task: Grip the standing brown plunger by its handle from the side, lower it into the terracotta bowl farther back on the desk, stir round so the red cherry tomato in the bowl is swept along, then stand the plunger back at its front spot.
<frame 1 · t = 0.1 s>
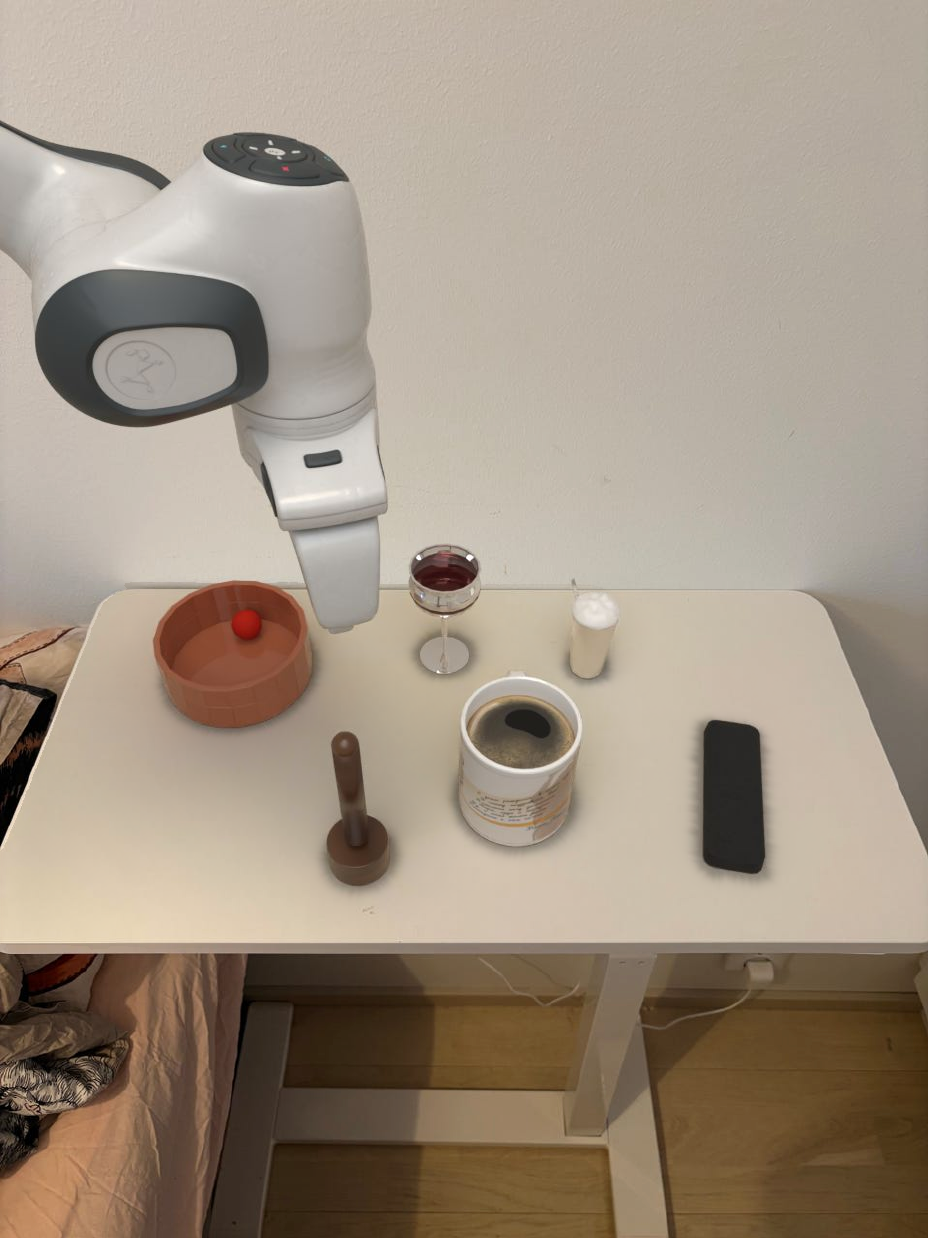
hand: (326, 580, 68), 23 cm above the table, tool pointing down, fingers open, 8 cm apart
tomato: (246, 624, 93), point 2 cm above the table, touching bowl
wineglass: (444, 656, 94), on the table
milkshake: (582, 665, 93), on the table
bowl: (239, 670, 92), on the table
remote control: (730, 797, 83), on the table
brown plunger: (359, 858, 78), on the table
mug: (517, 789, 83), on the table
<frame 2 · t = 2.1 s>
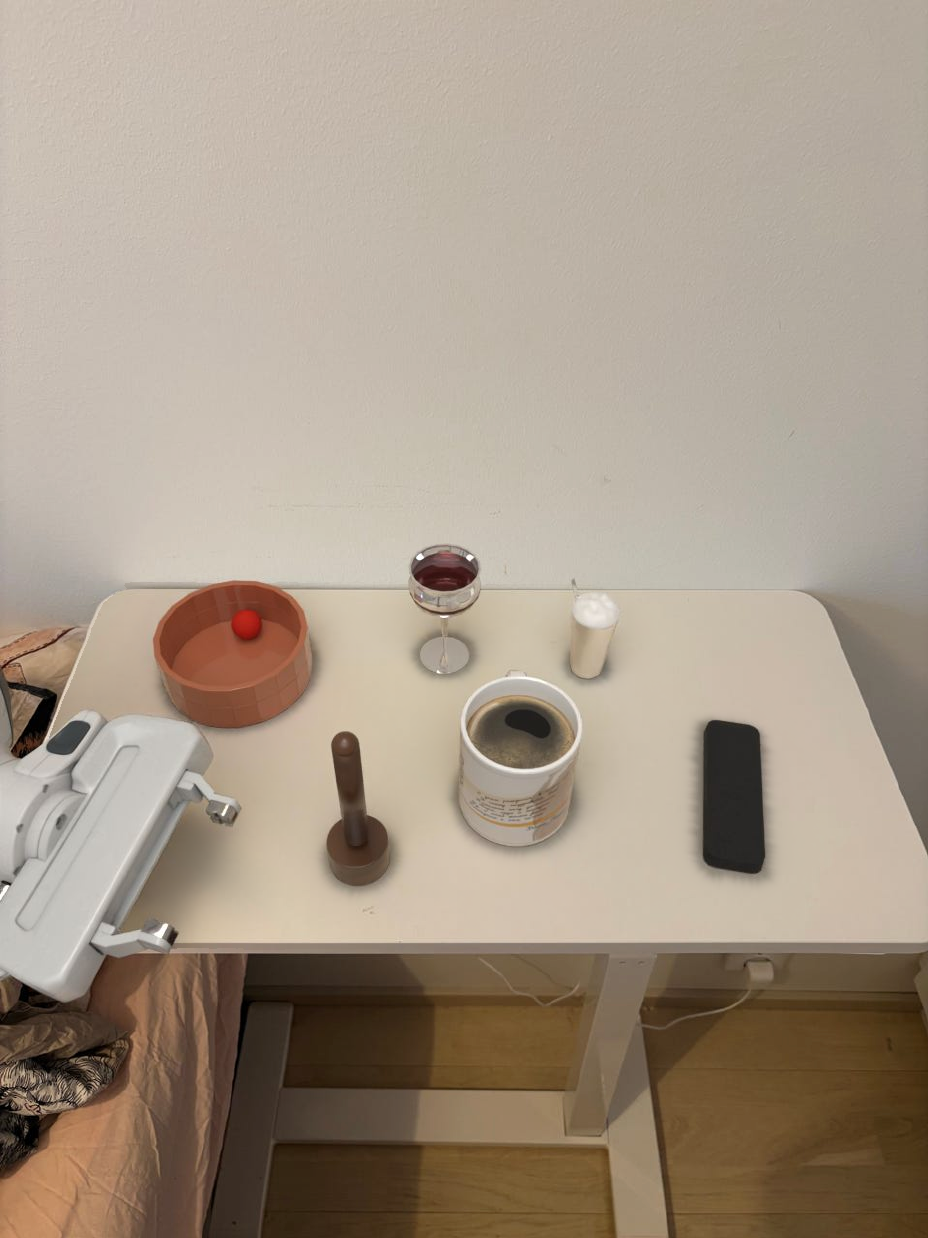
hand: (204, 874, 64), 12 cm above the table, tool horizontal, fingers open, 8 cm apart
nothing on the table moved.
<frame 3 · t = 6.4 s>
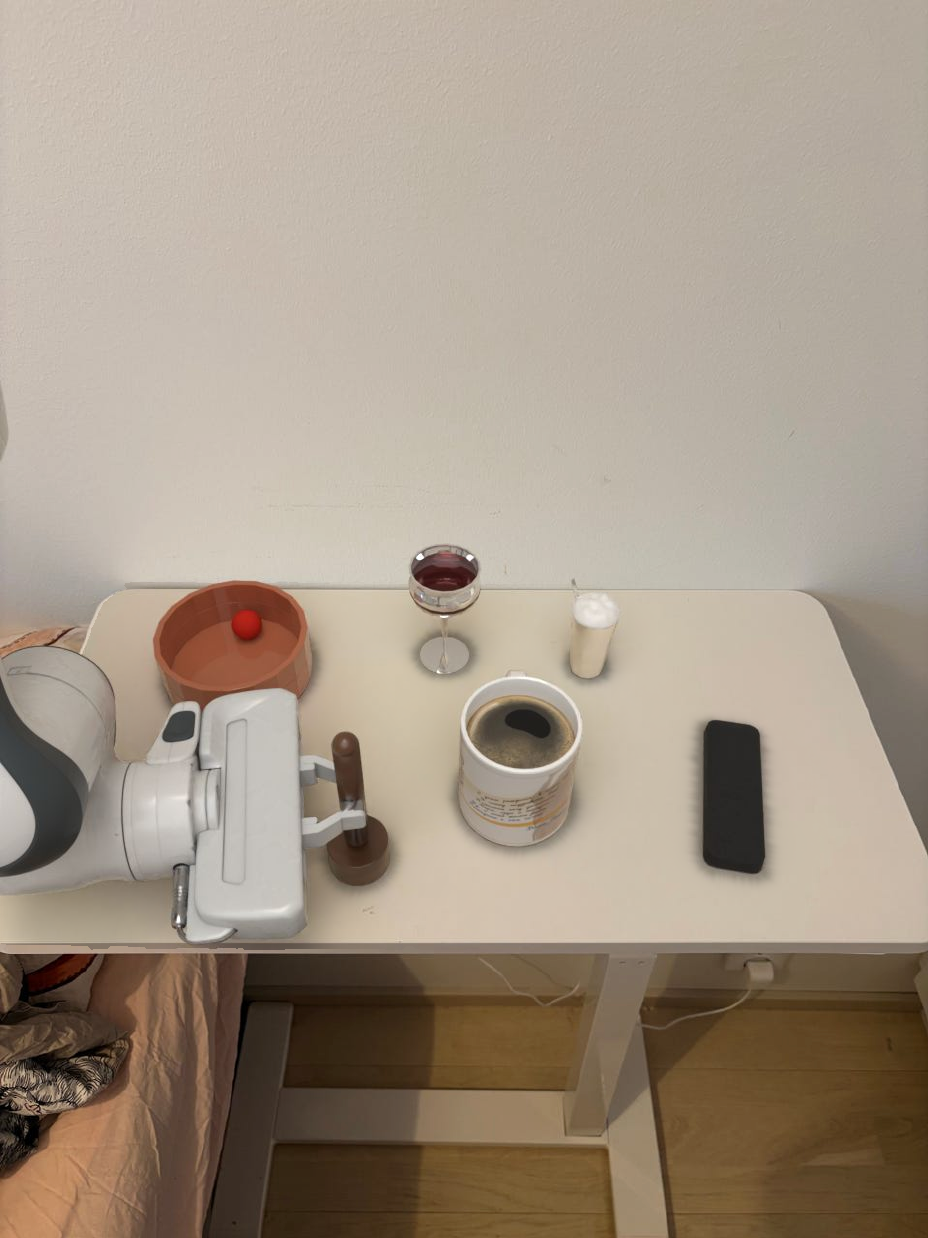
hand: (363, 794, 71), 10 cm above the table, tool horizontal, fingers closed on brown plunger
brown plunger: (359, 858, 78), on the table, touching gripper
everything else where it was.
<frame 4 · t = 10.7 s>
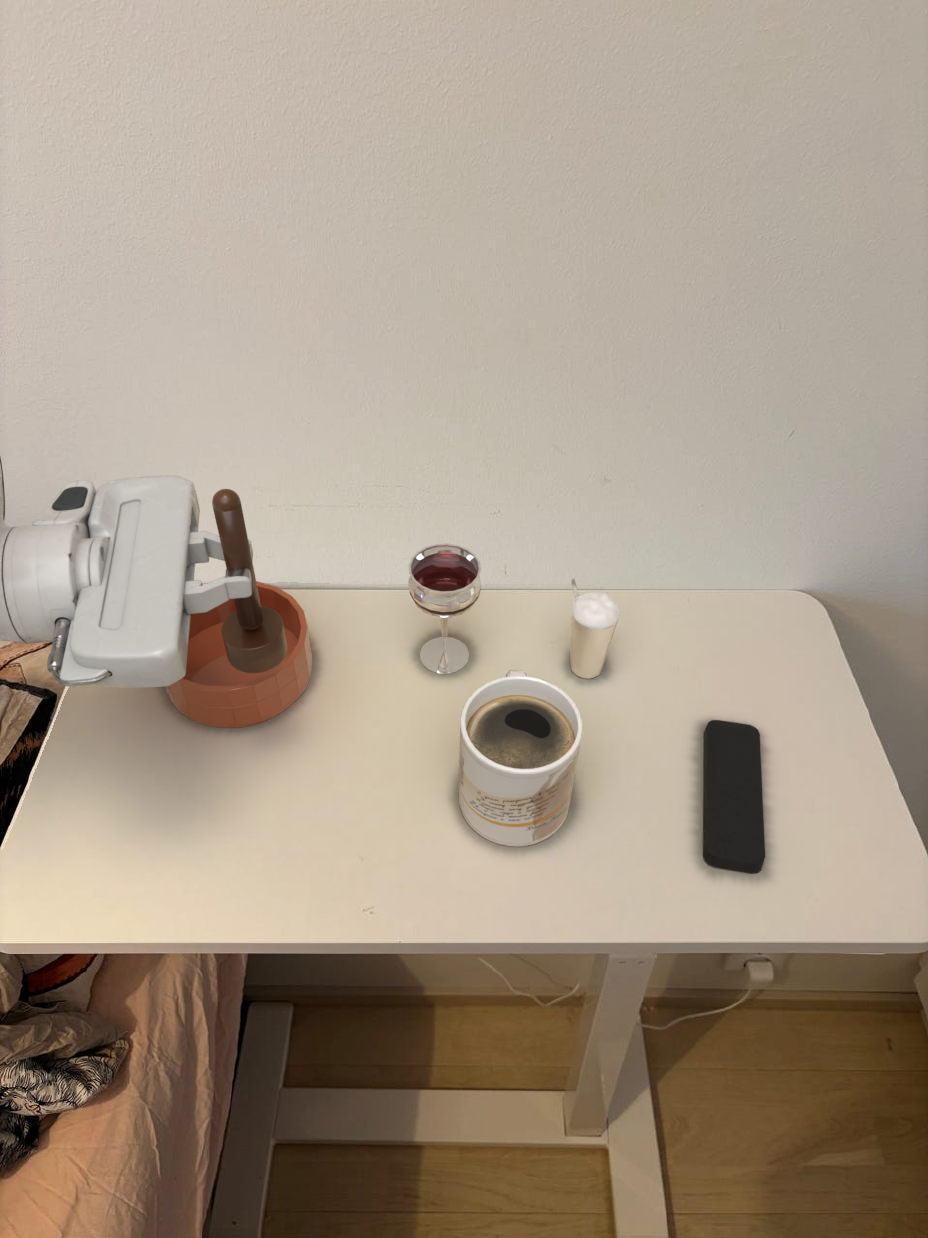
hand: (251, 566, 72), 21 cm above the table, tool horizontal, fingers closed on brown plunger
brown plunger: (257, 651, 79), point 11 cm above the table, touching gripper
everything else where it was.
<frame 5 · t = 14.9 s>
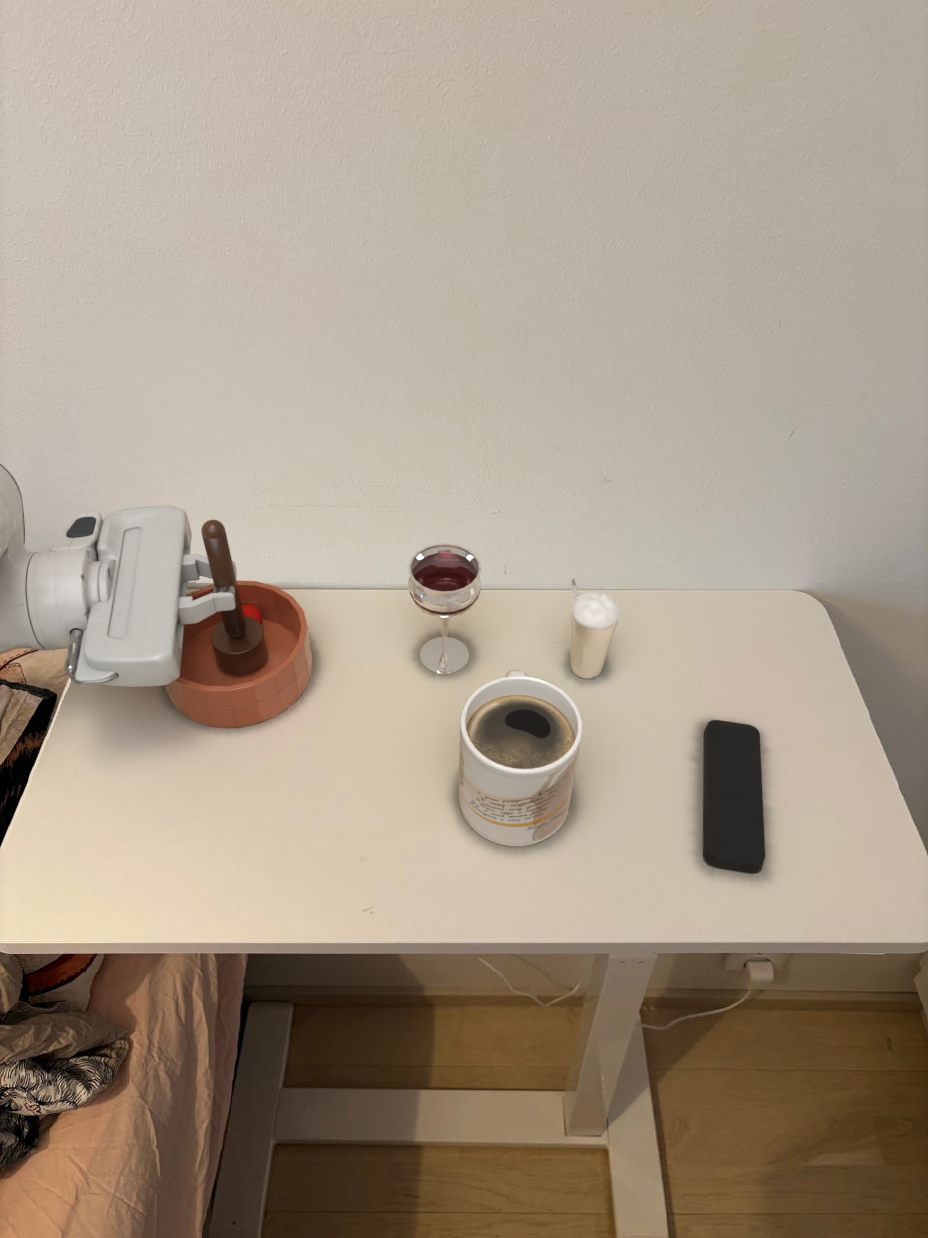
hand: (235, 584, 85), 11 cm above the table, tool horizontal, fingers closed on brown plunger
tomato: (247, 619, 94), point 2 cm above the table, tilted 26°, touching bowl
brown plunger: (241, 655, 92), point 1 cm above the table, touching gripper
everything else where it was.
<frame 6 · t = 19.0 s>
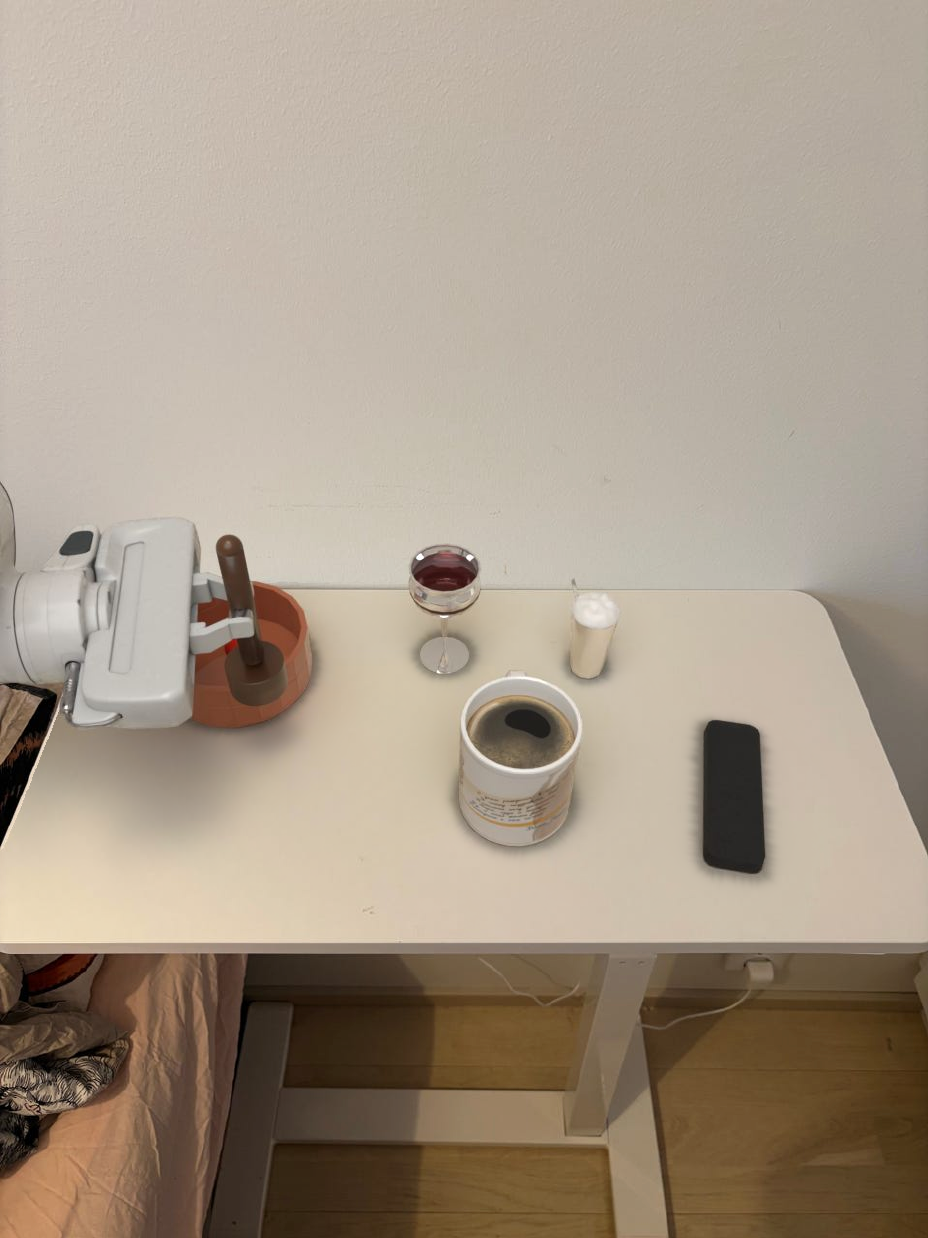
hand: (253, 607, 75), 17 cm above the table, tool horizontal, fingers closed on brown plunger
tomato: (240, 646, 91), point 2 cm above the table, tilted 114°, touching bowl
brown plunger: (259, 684, 81), point 7 cm above the table, touching gripper
everything else where it was.
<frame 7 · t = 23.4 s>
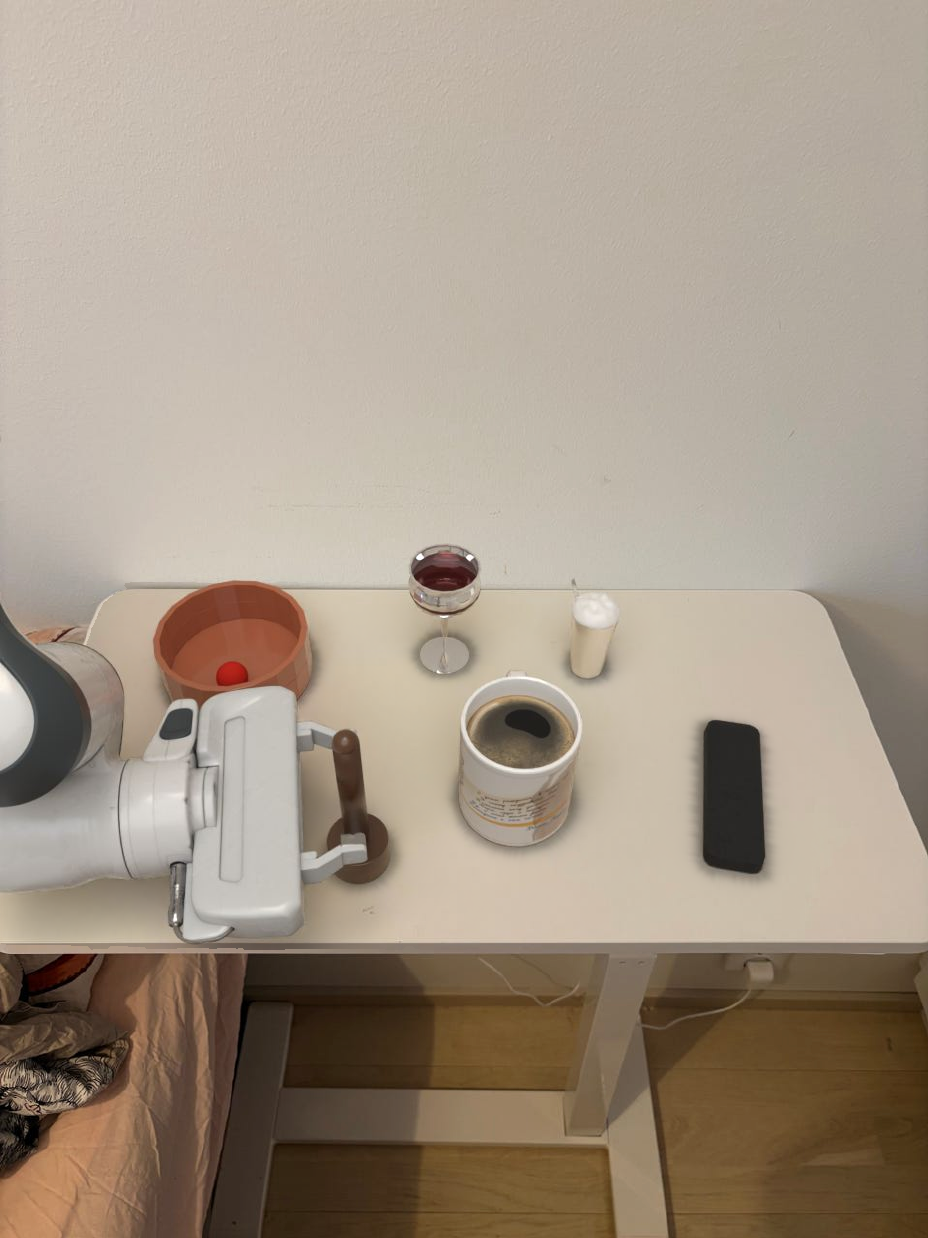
hand: (361, 792, 71), 10 cm above the table, tool horizontal, fingers open, 8 cm apart
tomato: (232, 677, 89), point 2 cm above the table, tilted 96°, touching bowl
brown plunger: (359, 857, 78), on the table
everything else where it was.
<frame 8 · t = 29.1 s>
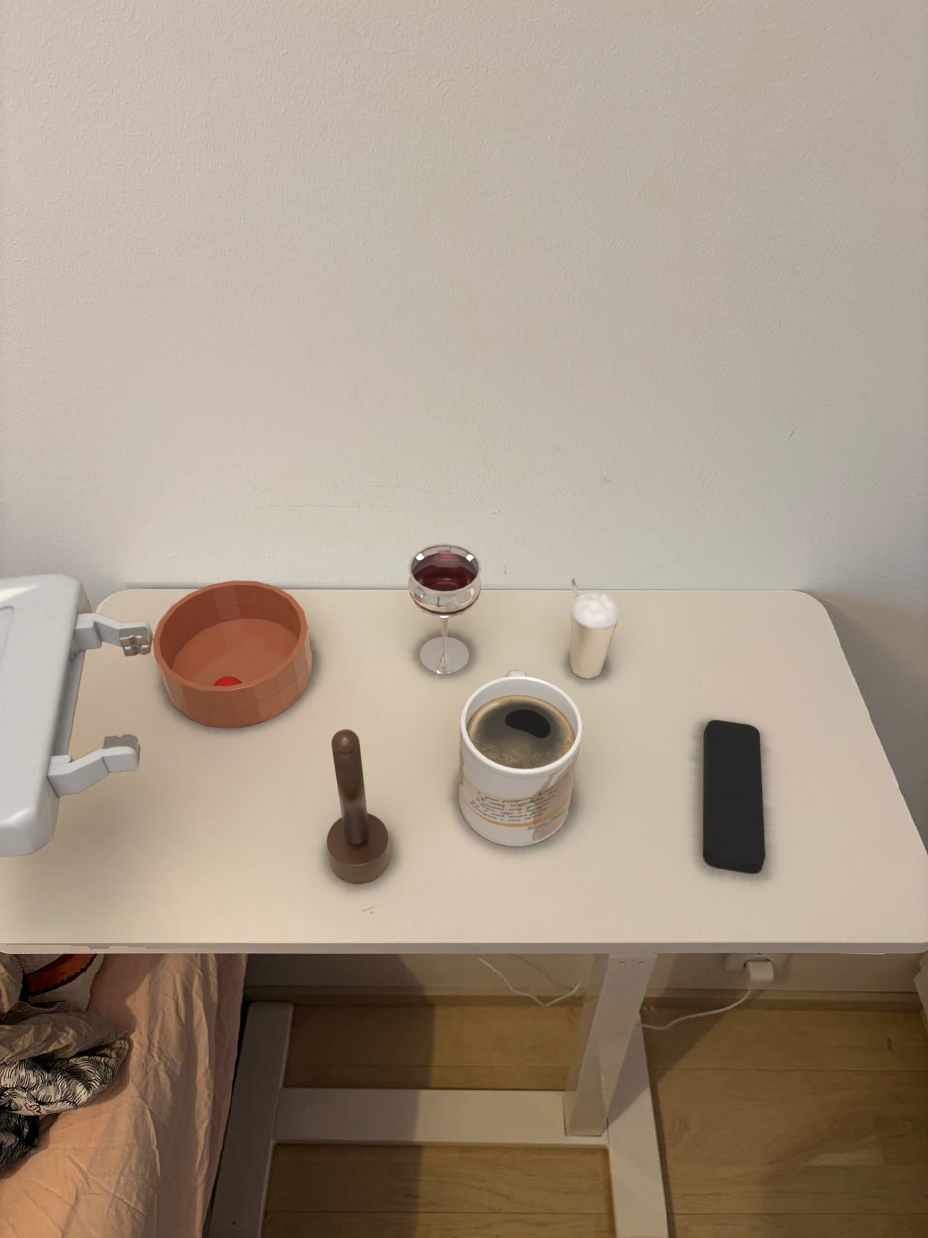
hand: (144, 691, 59), 24 cm above the table, tool horizontal, fingers open, 8 cm apart
tomato: (228, 692, 87), point 2 cm above the table, tilted 26°, touching bowl
everything else where it was.
at the end: tomato moved 8.7 cm from its start; brown plunger inside the target area (0.2 cm from its centre), on the table; brown plunger tilted 0° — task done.
